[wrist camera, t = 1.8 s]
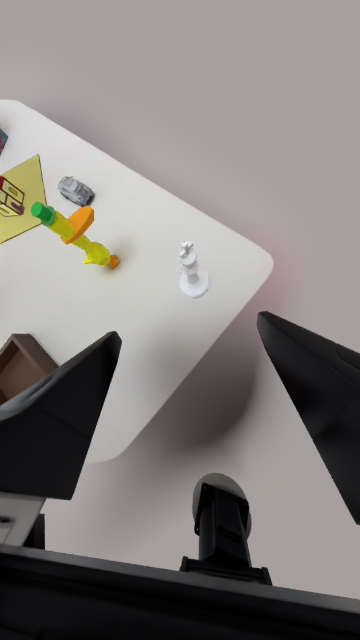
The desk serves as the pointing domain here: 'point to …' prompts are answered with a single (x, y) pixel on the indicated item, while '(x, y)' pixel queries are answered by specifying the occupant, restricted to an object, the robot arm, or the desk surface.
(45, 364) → the dark tray
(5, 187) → the toy house
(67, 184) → the toy car
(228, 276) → the desk surface
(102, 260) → the toy figure
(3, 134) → the milk carton
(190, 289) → the chess piece
